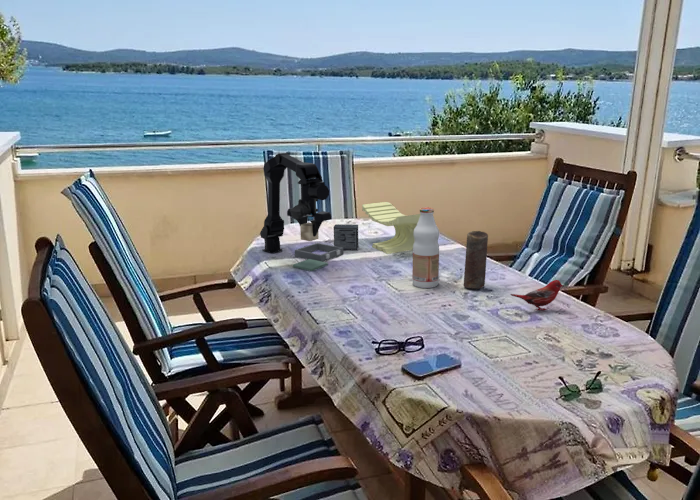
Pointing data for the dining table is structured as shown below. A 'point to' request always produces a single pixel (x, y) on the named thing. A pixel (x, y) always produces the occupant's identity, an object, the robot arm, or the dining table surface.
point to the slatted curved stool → (401, 223)
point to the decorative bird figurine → (542, 295)
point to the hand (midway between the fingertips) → (309, 235)
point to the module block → (307, 232)
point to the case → (306, 254)
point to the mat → (310, 265)
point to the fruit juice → (426, 251)
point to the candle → (475, 260)
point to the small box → (346, 236)
